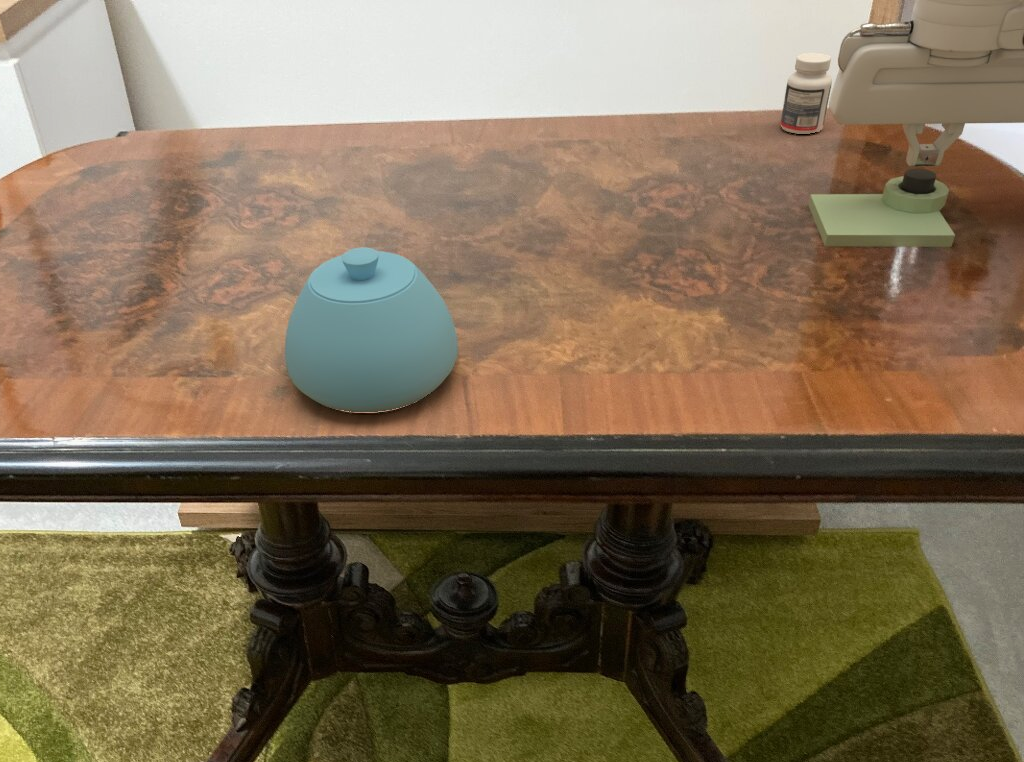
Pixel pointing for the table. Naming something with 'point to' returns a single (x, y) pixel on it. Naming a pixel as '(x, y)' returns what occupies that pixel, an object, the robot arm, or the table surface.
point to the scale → (883, 218)
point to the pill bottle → (807, 94)
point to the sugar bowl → (369, 334)
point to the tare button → (918, 181)
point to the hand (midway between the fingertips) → (922, 164)
